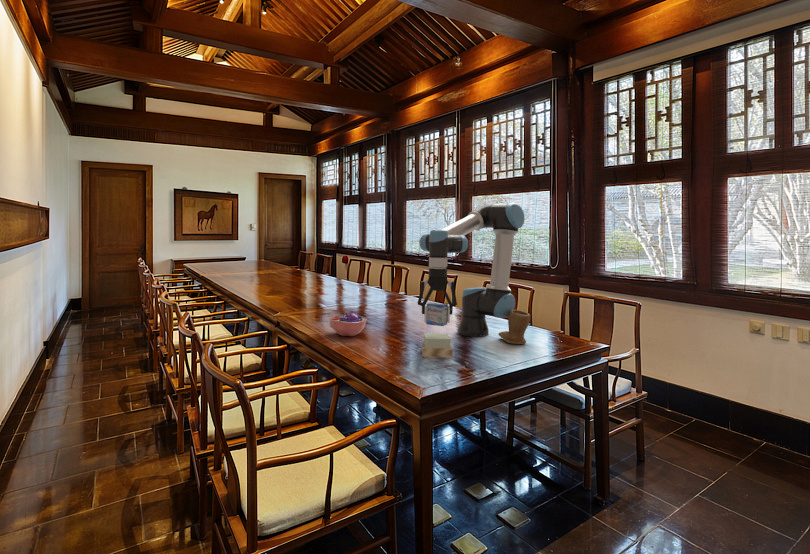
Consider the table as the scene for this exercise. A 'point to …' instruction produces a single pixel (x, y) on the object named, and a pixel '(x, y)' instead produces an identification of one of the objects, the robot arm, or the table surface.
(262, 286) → the table surface
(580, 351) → the table surface
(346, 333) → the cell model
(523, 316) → the tan boot-shaped piece
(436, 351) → the lower block
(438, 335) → the upper block
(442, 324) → the medicine box
